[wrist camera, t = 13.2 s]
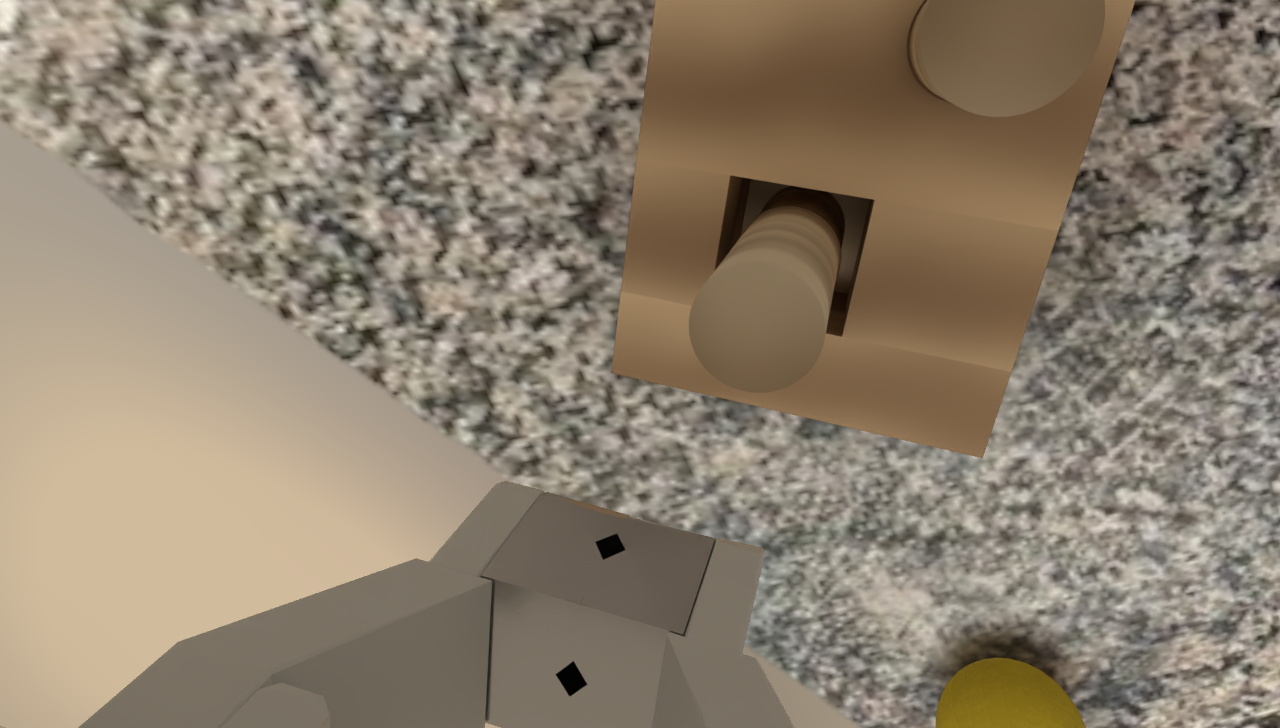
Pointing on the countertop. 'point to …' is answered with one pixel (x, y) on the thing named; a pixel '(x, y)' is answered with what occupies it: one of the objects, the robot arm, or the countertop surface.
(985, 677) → the lemon
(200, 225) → the countertop surface
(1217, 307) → the countertop surface
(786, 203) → the peg
